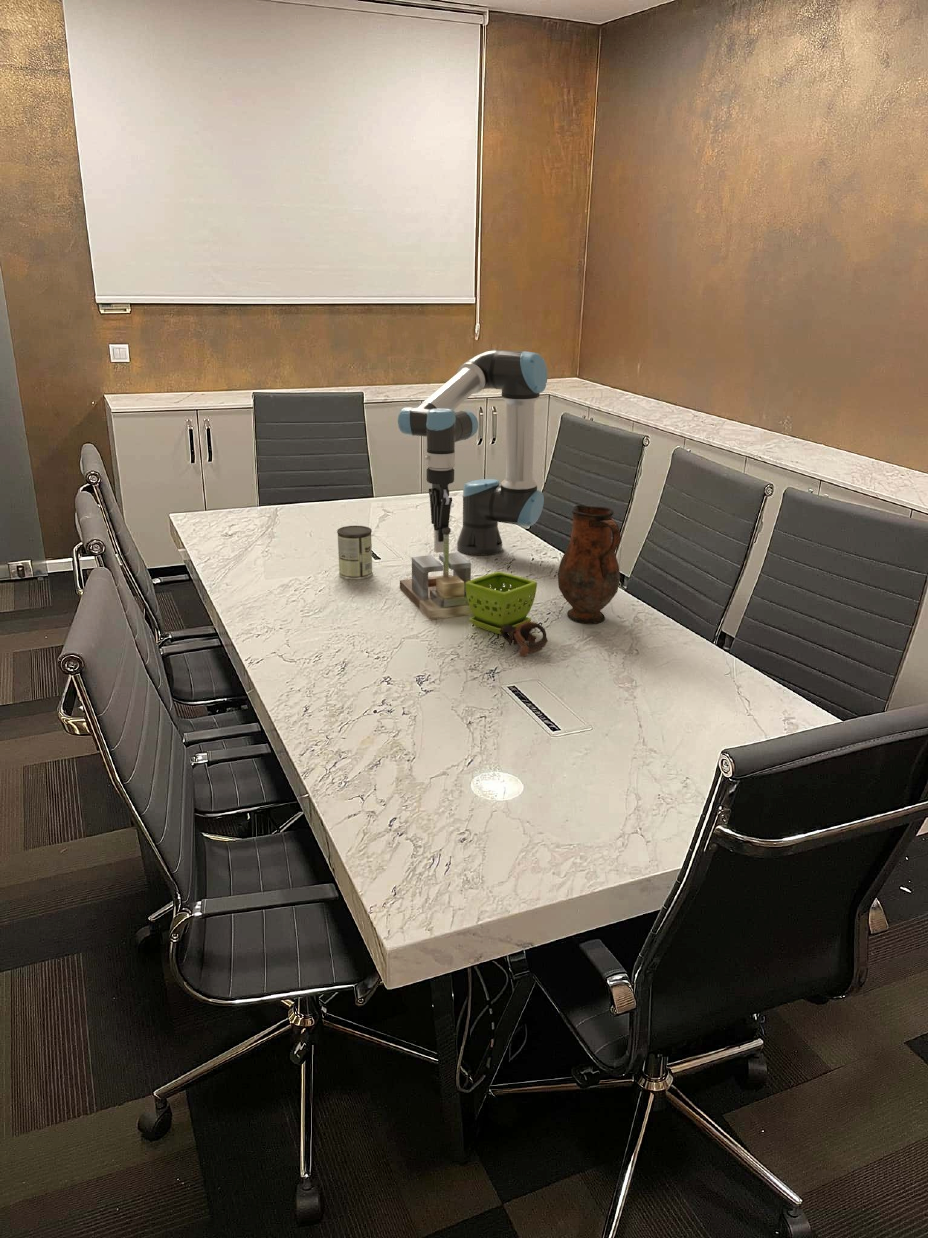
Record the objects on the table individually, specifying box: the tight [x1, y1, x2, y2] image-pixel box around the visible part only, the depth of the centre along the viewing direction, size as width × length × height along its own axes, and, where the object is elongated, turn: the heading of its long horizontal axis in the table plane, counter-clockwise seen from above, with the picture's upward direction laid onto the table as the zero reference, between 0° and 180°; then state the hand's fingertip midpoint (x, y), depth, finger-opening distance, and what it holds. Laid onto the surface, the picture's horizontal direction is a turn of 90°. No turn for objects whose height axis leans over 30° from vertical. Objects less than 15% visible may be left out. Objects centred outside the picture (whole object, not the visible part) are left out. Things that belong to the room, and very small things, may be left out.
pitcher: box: [557, 504, 621, 625], centre depth 245 cm, size 17×21×30 cm
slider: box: [430, 526, 468, 607], centre depth 251 cm, size 9×10×20 cm
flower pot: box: [465, 571, 538, 636], centre depth 242 cm, size 14×14×13 cm
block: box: [436, 575, 464, 599], centre depth 254 cm, size 6×6×6 cm
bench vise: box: [399, 552, 474, 621], centre depth 260 cm, size 16×27×12 cm, turn 21°
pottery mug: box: [500, 621, 548, 658], centre depth 229 cm, size 12×9×8 cm
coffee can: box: [336, 525, 373, 581], centre depth 280 cm, size 10×10×14 cm
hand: (439, 551), depth 258 cm, fingers closed
